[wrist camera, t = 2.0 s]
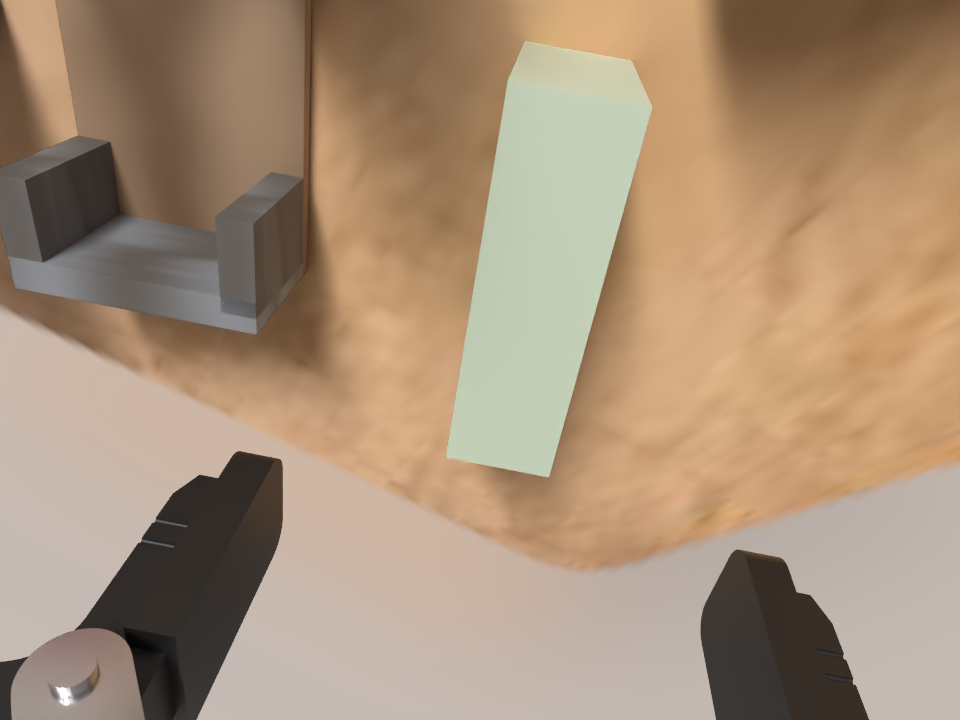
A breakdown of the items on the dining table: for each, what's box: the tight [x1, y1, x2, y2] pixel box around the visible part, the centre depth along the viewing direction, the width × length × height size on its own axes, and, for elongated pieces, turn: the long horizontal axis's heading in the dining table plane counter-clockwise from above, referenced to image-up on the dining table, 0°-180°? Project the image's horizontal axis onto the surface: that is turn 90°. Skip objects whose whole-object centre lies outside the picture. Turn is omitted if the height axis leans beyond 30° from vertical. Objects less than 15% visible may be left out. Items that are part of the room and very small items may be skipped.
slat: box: [446, 41, 652, 477], centre depth 22 cm, size 4×12×7 cm, turn 171°
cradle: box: [0, 0, 311, 335], centre depth 21 cm, size 8×17×5 cm, turn 171°
